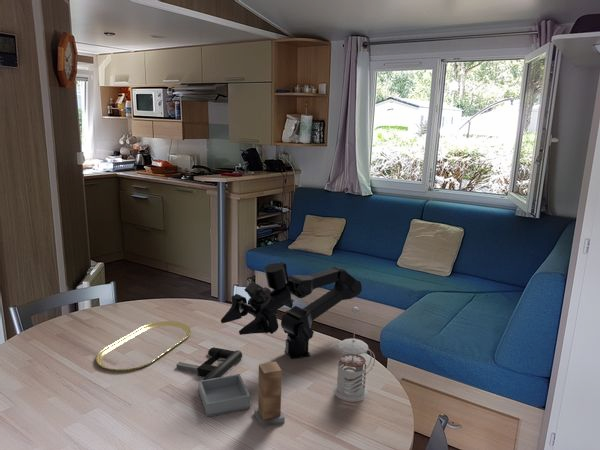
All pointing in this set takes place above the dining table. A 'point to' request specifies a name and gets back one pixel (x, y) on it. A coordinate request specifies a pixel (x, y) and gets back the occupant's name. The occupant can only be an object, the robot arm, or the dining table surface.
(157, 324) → the gold oval ring
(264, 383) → the wooden post on base
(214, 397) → the tray
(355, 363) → the french press
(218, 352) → the door handle
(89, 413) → the dining table surface
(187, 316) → the dining table surface
